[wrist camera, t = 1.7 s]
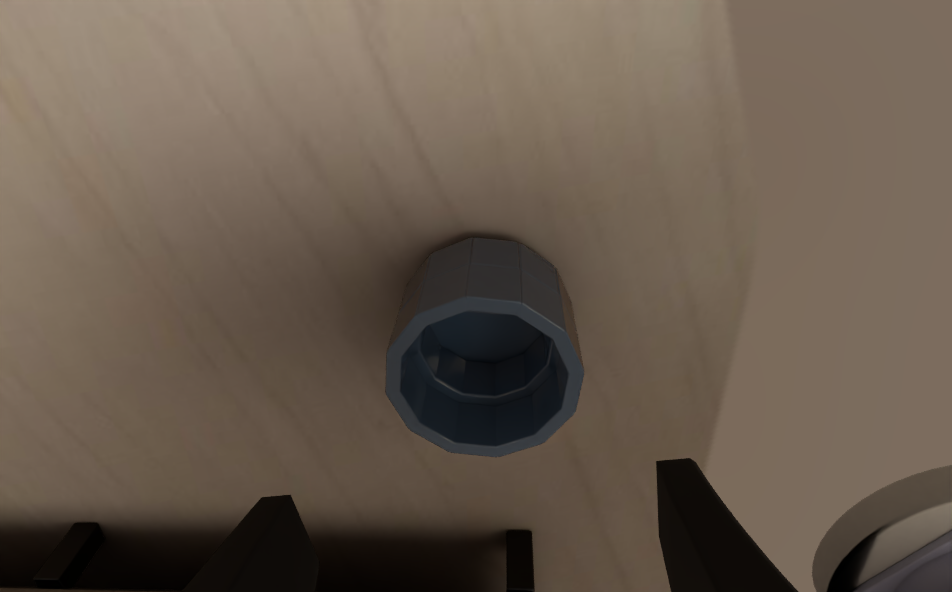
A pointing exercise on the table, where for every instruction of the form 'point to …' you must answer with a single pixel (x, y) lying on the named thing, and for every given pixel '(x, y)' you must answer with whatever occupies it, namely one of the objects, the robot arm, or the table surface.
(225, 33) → the table surface
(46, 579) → the conveyor belt
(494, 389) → the cup
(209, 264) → the table surface
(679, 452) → the table surface
